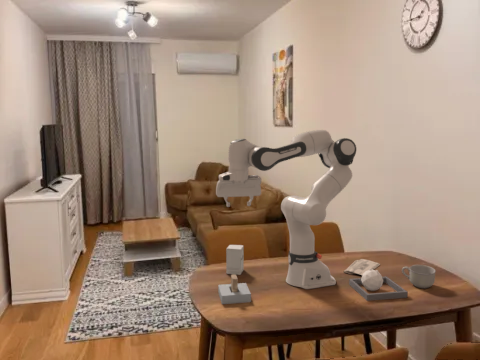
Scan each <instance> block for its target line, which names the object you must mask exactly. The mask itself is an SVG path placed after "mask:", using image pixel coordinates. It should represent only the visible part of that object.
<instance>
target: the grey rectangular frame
mask: <svg viewBox="0 0 480 360" xmlns="http://www.w3.org/2000/svg"><path fill="white" fill-rule="evenodd" d="M361 278H362V277H361ZM361 278H360V277H358V278H349V279H348V285H349V286H350V287H351V288H352V289H353V290H354V291H356V292H357V293H358V294H359V295H360V296H361V297H362V298H363V299H365V301H367V302H368V301H379V300H380V301H381V300H392V299H393V300H394V299H408V294H409V293H408V291H407V290H406V289H405V288H403V287H402V286H401V285H399V284H397V283H396V282H394V280H392V279H391V278H389V276H382V278H383V283H382V284H386V285H388V286H389V287H390V288H391V289H393V290H394V291H389V292H376V293H375V292H374V293H368V292H367V290H365V289H364V288H363V287H361V285H363V284H362V281H361Z"/></svg>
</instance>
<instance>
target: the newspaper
mask: <svg viewBox="0 0 480 360" xmlns="http://www.w3.org/2000/svg"><path fill="white" fill-rule="evenodd" d="M380 265H381V263H379V262H375V261H373V260H369V259H364V258H360V259H356V260H354V261H353V262H352V263H351V264H350V265H349V266H348V267H347V268H345V269H344V270H343V273H345V274H347V275H348V274H349V275H354V274H357V275H361V276H362V275H363V273H364V272H365V271H368V270H369V269H373V270H377V268H378V267H379V266H380Z"/></svg>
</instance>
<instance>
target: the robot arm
mask: <svg viewBox="0 0 480 360" xmlns="http://www.w3.org/2000/svg"><path fill="white" fill-rule="evenodd" d="M356 153H357V145H356V143H355V142H354V141H353V140H352V139H350V138H345V137H344V138H339V139H337V140H336V141H334V140H333V139H332V135H331V133H330V132H329V131H328V130H326V129H315V130H309V131H305V132H301V133H298V134H296V135H294V136H293V137H291V140H290V143H289V144H285V145H283V146H279V147H276V148H272V147H271V148H270V147H266V146H264V147H263V146H259V145H256V144H254V143H252V142H250V141H249V140H247V139H246V138H238V139H234V140H231V142H230V143H229V147H228V163H229V165H228V171H226V172H223V173H221V174H218V181H217V182H216V186H215V195H216V196H217V198H223V199H224V201H225V203H226V204H225V205H226V207H227V208H230V207H231V202H228V199H229V198H230V197H231V198H235V197H249V200H248V201H246V206H247V207H250V206H252V201H254V197H260V196H261V195H262V187H261V184H262V177H261V176H259V175H256V174H255V175H252V174H249V168H250V167H253V168H256V169H257V170H259V171H262V172H267V171H269V170H271V169H273V168H274V167H275V166H277V165H278V164H279V163H282V162H285V161H286V162H287V161H289V160H291V159H294V158H305V157H310V156H313V155H316V154H318V157H319V158H320V161H321V164H322V165H324V167H326V168H328V170H327V171H326V172H325V173H324V174H322V175H321V176H320V177H319V178H318V179H316V181H315V182H313V183H312V185H311V192H310V193H309V195H307V196H305V197H304V196H299V195H288V196H286V197H284V198H283V199H282V201H281V204H280V210H281V212H282V214H283V215H284V217H285V219H286V220H285V221H286V224H287V229H288V232H289V233H288V234H289V251H288V269H287V275H286V278H285V282H286V283H287V284H288V285H290V286H294V287H298V288H302V289H305V290H311V289H317V288H324V287H329V286H335V285H336V284H337V281H336V279H335V277H334V276H333V275H331V271H330V268H329V267H328V265H326V264H325V263H324V262H323V261H322V260H321V259H322V258H323V256H322V255H321V254H320V253H318V251H315V237H316V236H315V233H314V232H313V230H312V229H311V226H318V225H321V224H323V222H324V221H325V219H326V217H327V210H326V209H327V207H328V205H329V204H330V202H331V201H333V200H334V199H335V198H336V197H337V196H338V195H339V194H340V193H341V192H342V191H343V190H344V189H345V188H346V187H347V186H348V184H350V182H351V181H352V178H353V172H352V170H351V168H350V167H349V166H350V165H352V164H353V162H354V159H355V156H356Z"/></svg>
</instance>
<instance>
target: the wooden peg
mask: <svg viewBox="0 0 480 360" xmlns="http://www.w3.org/2000/svg"><path fill="white" fill-rule="evenodd" d="M238 281H239V280H238V277H237V274H230V284H231V293H232V292H238V283H239V282H238Z"/></svg>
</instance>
